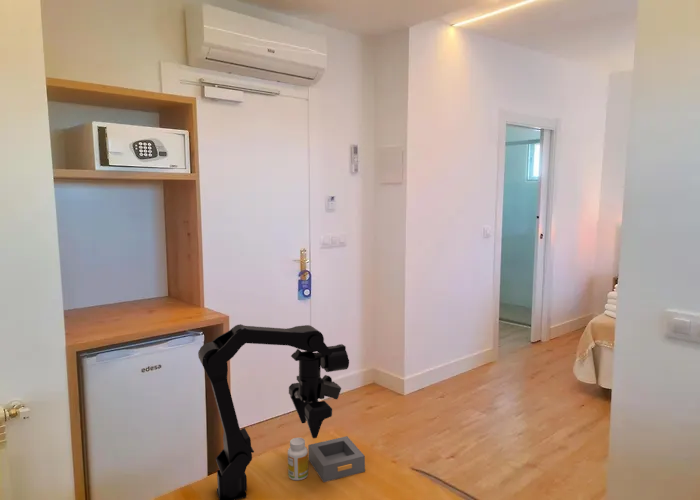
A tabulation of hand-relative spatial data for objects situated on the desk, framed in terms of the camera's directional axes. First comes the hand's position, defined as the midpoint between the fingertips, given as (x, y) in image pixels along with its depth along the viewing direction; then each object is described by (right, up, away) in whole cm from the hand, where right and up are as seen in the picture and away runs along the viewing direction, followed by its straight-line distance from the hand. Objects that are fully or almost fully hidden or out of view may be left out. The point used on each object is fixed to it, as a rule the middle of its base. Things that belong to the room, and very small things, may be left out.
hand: (309, 430), depth 133 cm
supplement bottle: (-3, -13, +1) cm, 13 cm away
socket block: (+7, -12, +5) cm, 15 cm away
